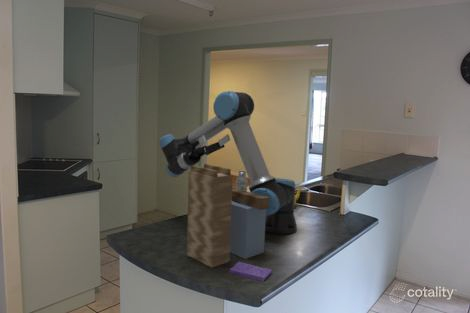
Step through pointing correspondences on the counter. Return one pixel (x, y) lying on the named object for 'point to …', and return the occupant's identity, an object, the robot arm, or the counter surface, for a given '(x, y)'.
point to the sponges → (250, 271)
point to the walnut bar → (250, 199)
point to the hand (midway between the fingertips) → (217, 137)
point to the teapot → (297, 195)
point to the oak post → (209, 214)
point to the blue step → (247, 230)
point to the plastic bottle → (242, 181)
